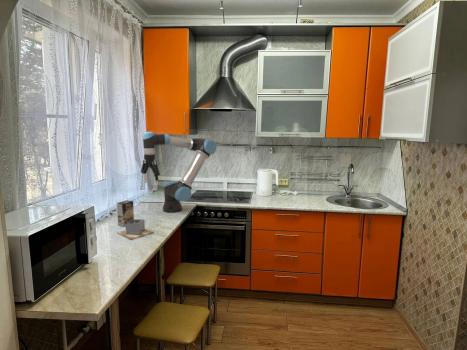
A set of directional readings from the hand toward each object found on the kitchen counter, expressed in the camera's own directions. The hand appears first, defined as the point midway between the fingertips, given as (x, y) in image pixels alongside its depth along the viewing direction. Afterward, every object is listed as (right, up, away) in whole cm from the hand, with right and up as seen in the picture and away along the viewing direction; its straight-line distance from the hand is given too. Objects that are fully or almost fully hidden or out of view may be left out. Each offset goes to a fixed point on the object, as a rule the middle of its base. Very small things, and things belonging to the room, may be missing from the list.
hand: (150, 183), depth 227 cm
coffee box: (-16, -28, -5) cm, 33 cm away
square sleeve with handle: (-4, -30, -20) cm, 36 cm away
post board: (-4, -31, -23) cm, 39 cm away
